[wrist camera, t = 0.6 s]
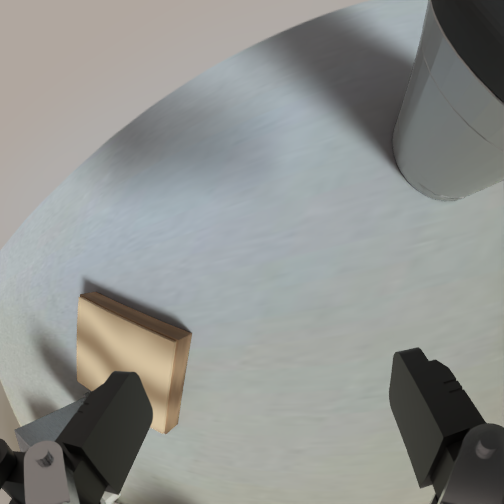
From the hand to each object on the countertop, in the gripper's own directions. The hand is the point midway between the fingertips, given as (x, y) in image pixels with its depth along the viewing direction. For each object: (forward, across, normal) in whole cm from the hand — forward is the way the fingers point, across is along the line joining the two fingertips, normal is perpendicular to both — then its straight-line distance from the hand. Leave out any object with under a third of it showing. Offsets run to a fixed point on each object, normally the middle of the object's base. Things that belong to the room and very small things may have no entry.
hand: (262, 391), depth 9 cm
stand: (+20, +18, +12) cm, 29 cm away
